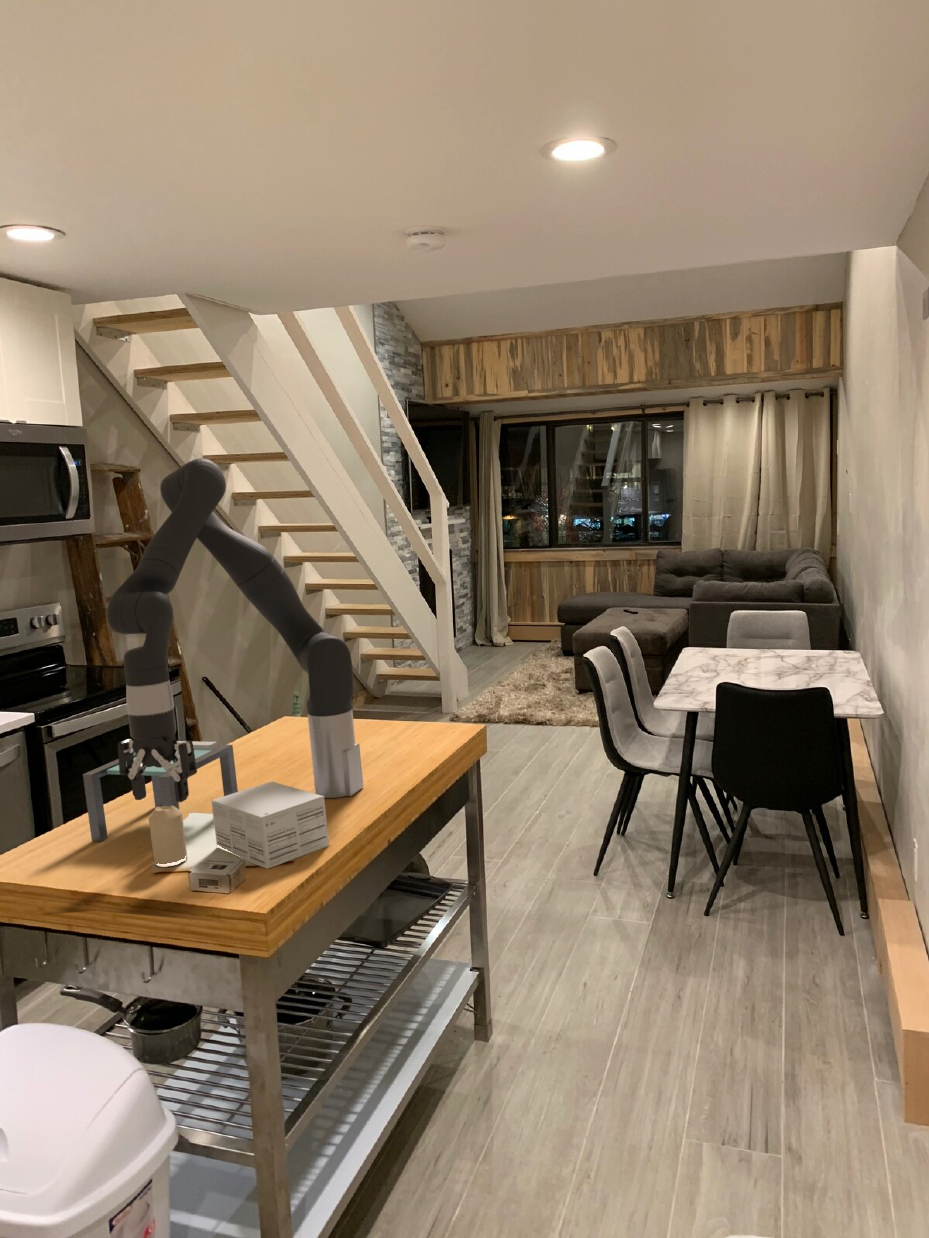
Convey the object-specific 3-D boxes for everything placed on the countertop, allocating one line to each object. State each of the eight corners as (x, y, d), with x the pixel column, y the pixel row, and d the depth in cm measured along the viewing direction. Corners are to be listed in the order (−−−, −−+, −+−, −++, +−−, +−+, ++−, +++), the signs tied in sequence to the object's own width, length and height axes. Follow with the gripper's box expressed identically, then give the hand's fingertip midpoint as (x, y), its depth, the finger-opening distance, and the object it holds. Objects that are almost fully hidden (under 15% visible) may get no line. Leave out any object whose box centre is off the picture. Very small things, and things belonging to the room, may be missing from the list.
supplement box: (331, 846, 164) (326, 795, 162) (267, 871, 155) (261, 817, 153) (277, 826, 176) (272, 779, 174) (215, 848, 167) (209, 798, 165)
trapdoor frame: (161, 803, 195) (153, 743, 193) (239, 807, 188) (232, 744, 187) (91, 841, 175) (82, 774, 173) (176, 846, 169) (168, 777, 167)
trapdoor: (164, 752, 192) (163, 740, 192) (222, 753, 188) (221, 741, 187) (107, 778, 176) (106, 765, 176) (169, 780, 171) (168, 767, 171)
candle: (191, 854, 164) (184, 800, 163) (182, 866, 159) (175, 810, 158) (159, 857, 164) (153, 802, 163) (150, 869, 159) (143, 813, 157)
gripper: (199, 703, 159) (208, 794, 161) (131, 702, 164) (141, 791, 166) (172, 714, 152) (182, 809, 154) (101, 712, 157) (112, 805, 159)
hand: (161, 799), depth 160 cm, fingers open, 8 cm apart
